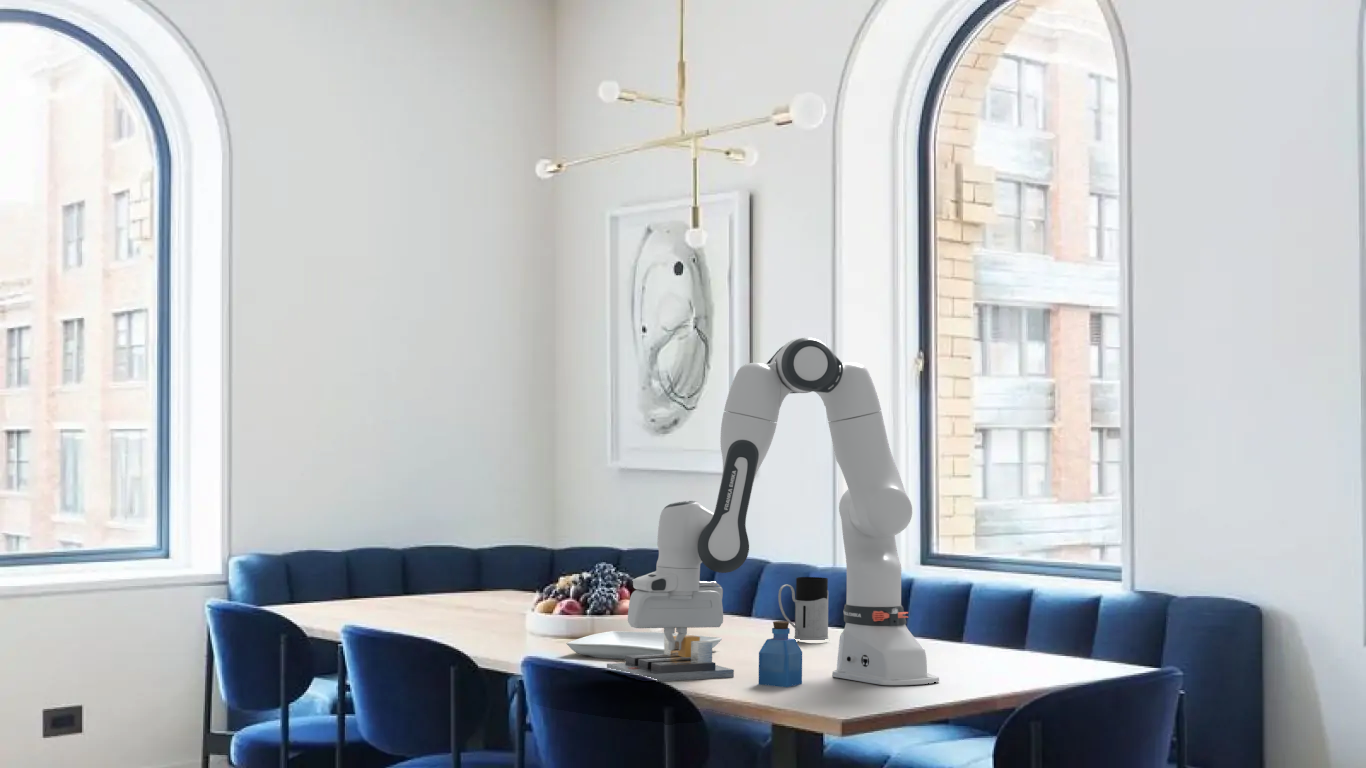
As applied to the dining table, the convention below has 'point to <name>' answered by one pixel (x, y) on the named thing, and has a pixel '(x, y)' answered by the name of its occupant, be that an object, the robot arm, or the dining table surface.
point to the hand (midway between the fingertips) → (674, 650)
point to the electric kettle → (809, 608)
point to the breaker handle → (687, 645)
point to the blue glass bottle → (780, 659)
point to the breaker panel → (675, 675)
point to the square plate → (625, 644)
